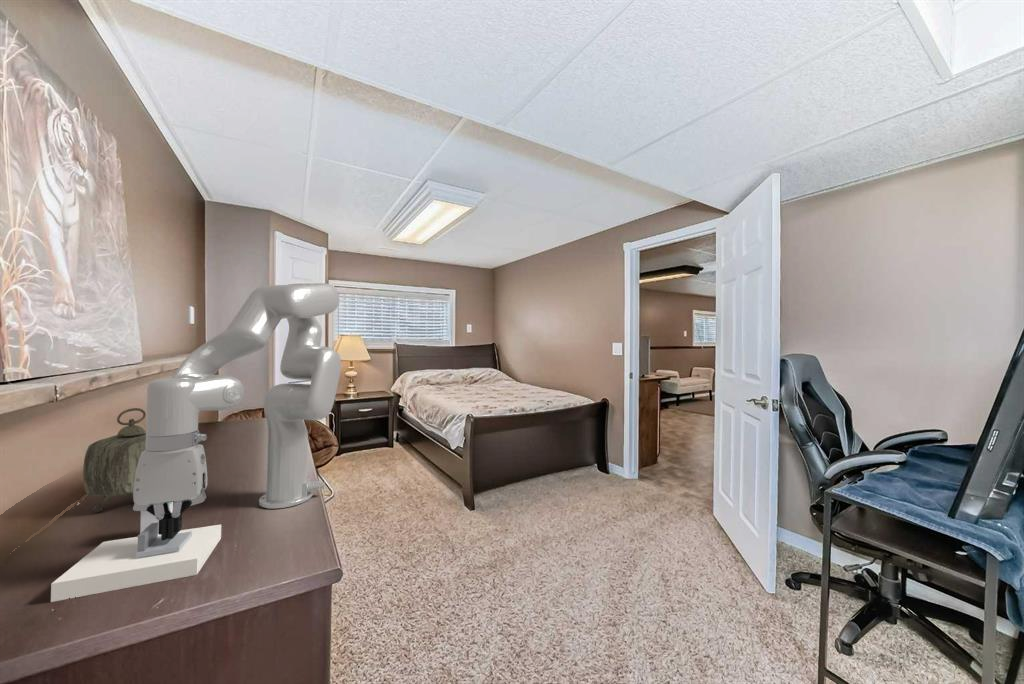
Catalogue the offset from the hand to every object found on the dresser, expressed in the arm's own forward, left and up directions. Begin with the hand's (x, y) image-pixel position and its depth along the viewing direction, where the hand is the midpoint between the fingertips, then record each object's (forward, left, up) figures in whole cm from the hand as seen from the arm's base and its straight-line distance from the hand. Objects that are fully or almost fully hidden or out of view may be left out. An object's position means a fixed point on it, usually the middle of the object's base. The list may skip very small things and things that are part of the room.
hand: (170, 536), depth 72 cm
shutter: (+1, 0, -2) cm, 2 cm away
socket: (+3, 0, -5) cm, 6 cm away
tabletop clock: (+21, -37, -5) cm, 43 cm away
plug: (+7, -13, -5) cm, 16 cm away
